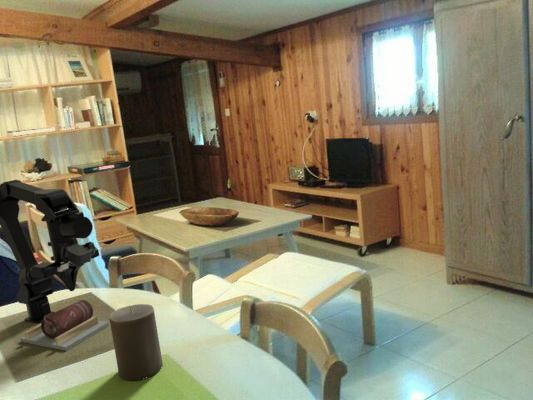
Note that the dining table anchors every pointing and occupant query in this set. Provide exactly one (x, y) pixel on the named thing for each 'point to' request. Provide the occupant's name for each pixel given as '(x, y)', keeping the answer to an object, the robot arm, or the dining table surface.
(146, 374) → the pillar candle
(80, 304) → the can
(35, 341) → the tray
